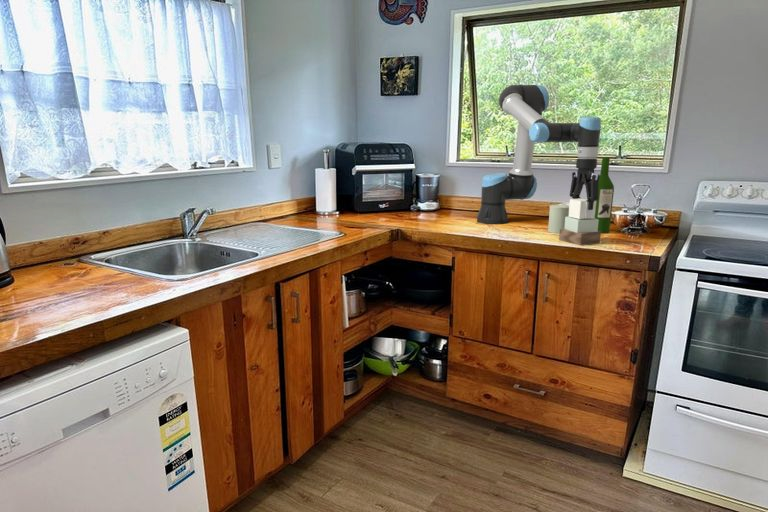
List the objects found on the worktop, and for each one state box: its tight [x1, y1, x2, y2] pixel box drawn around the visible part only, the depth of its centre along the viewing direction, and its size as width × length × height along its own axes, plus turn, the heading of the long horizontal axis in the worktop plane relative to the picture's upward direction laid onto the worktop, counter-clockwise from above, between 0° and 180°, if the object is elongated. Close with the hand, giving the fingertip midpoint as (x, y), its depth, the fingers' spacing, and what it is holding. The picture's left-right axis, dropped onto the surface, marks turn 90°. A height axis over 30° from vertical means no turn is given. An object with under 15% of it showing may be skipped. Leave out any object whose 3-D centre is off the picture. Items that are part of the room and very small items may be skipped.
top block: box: [564, 217, 599, 233], centre depth 198 cm, size 9×9×5 cm
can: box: [547, 204, 569, 235], centre depth 218 cm, size 9×9×12 cm
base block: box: [558, 229, 602, 246], centre depth 200 cm, size 11×11×5 cm
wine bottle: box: [595, 156, 615, 235], centre depth 215 cm, size 9×9×32 cm
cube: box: [569, 198, 596, 219], centre depth 197 cm, size 7×7×7 cm
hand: (581, 216), depth 197 cm, fingers closed on cube, 7 cm apart
